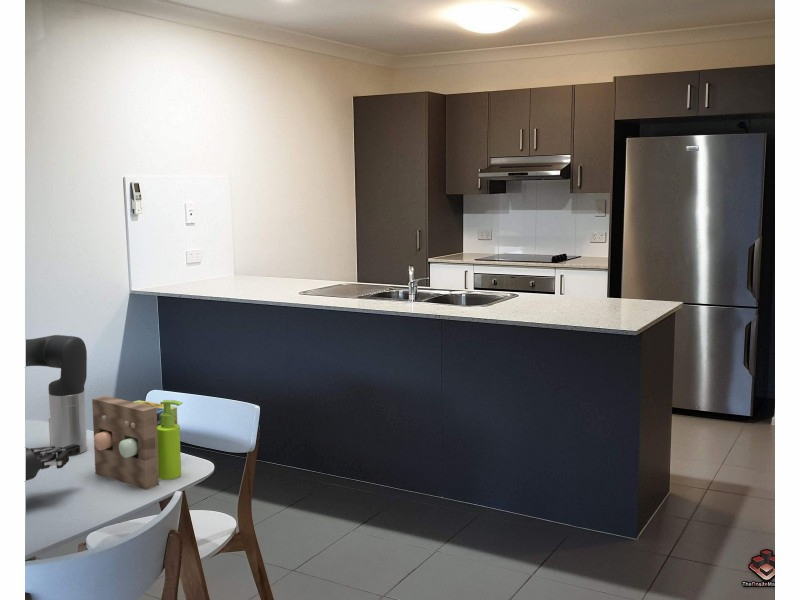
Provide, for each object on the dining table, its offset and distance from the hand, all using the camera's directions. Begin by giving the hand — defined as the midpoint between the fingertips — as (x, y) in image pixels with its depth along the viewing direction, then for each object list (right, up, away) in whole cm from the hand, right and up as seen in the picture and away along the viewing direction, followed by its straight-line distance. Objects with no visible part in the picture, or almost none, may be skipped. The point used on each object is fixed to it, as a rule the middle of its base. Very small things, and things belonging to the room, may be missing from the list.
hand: (78, 448), depth 189 cm
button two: (+12, -2, +1) cm, 13 cm away
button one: (+4, -1, +7) cm, 8 cm away
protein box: (+10, -8, +20) cm, 23 cm away
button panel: (+10, -9, +7) cm, 15 cm away
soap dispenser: (+20, -9, +10) cm, 24 cm away
